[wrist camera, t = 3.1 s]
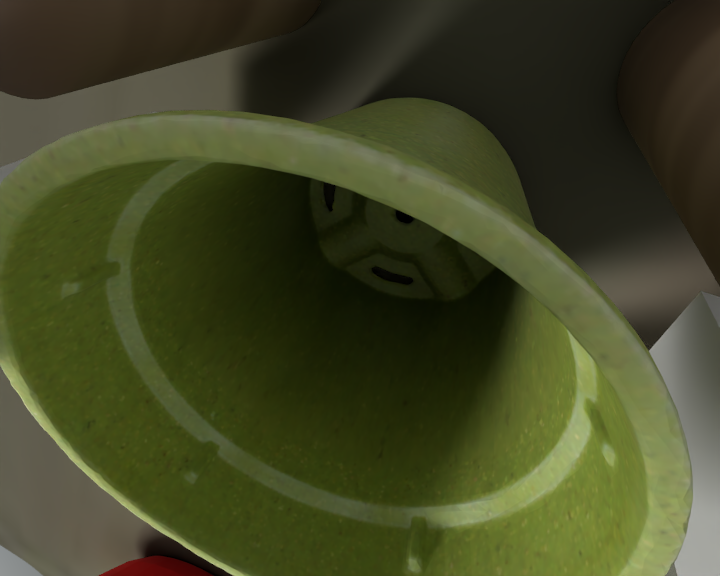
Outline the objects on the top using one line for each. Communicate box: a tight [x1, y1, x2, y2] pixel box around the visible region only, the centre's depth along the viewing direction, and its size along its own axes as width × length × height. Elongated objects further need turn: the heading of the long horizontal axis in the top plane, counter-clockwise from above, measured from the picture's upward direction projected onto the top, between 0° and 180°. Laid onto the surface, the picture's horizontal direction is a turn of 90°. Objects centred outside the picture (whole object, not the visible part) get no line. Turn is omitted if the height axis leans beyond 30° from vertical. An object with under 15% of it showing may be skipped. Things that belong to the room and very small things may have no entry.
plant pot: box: [0, 98, 693, 576], centre depth 9 cm, size 9×9×9 cm
